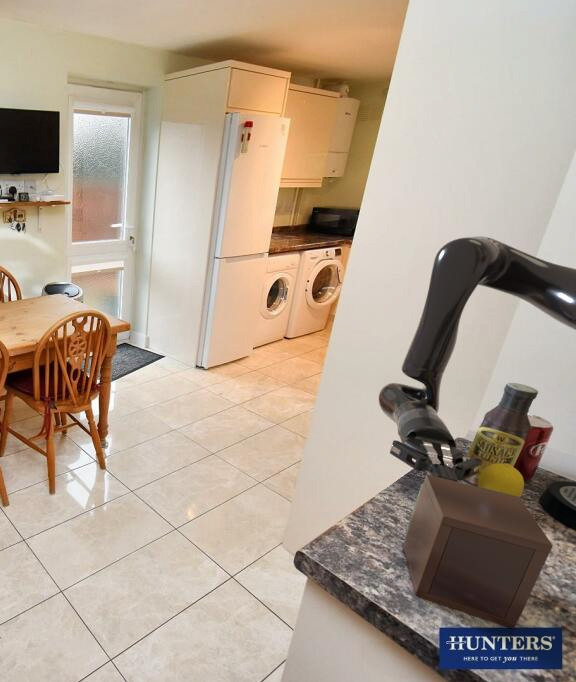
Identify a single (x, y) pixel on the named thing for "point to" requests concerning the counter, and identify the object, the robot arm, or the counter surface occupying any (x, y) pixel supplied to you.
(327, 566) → the counter surface
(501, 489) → the lemon
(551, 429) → the soda can
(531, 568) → the box
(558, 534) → the counter surface
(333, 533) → the counter surface
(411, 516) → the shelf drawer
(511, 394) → the sauce bottle
